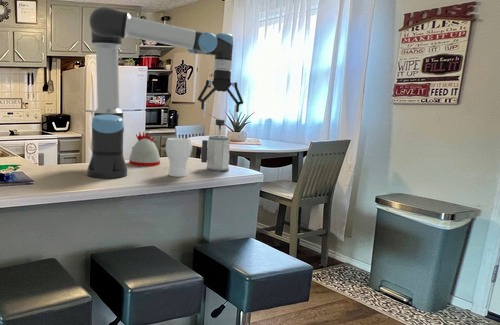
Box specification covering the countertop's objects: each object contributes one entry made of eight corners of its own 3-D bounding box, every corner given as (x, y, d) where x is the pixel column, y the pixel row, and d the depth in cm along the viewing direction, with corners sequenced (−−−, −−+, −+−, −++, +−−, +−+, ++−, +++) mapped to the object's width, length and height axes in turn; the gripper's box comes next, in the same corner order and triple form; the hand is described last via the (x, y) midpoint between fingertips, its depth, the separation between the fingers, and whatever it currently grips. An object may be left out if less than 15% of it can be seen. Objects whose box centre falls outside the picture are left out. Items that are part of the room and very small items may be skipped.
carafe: (200, 170, 197) (201, 137, 194) (201, 166, 207) (203, 134, 204) (228, 172, 197) (230, 138, 195) (228, 168, 207) (230, 136, 205)
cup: (185, 178, 178) (186, 141, 176) (160, 176, 180) (161, 139, 178) (194, 173, 189) (195, 138, 186) (170, 171, 191) (171, 136, 188)
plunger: (210, 162, 198) (212, 119, 195) (211, 159, 204) (213, 118, 201) (224, 163, 198) (227, 120, 195) (225, 160, 205) (227, 119, 201)
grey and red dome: (130, 160, 211) (131, 129, 208) (160, 161, 213) (161, 130, 211) (128, 166, 197) (128, 132, 195) (159, 166, 200) (160, 133, 197)
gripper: (193, 67, 190) (190, 116, 194) (251, 72, 191) (247, 121, 195) (194, 68, 198) (192, 115, 201) (250, 72, 199) (247, 119, 202)
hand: (219, 118), depth 198 cm, fingers open, 13 cm apart
